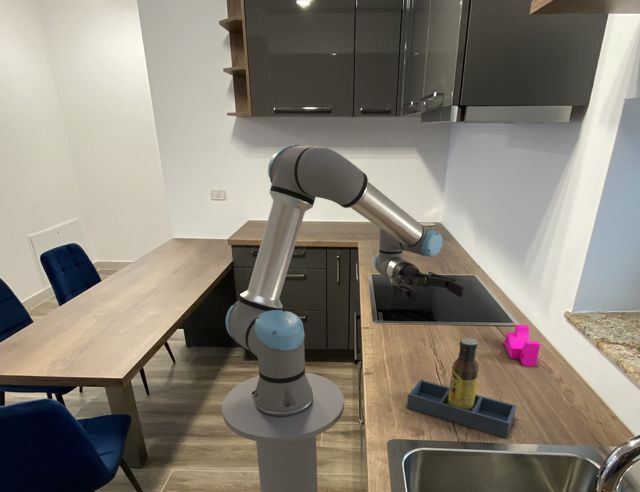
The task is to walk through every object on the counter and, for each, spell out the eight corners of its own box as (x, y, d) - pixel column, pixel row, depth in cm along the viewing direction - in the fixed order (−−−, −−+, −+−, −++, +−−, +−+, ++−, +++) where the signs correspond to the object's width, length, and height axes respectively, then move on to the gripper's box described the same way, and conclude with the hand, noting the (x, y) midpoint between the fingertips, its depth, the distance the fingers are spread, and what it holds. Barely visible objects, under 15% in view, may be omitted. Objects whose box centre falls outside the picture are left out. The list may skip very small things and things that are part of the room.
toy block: (504, 344, 151) (507, 324, 148) (523, 345, 150) (527, 325, 147) (514, 365, 137) (518, 343, 134) (535, 366, 136) (540, 344, 133)
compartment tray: (407, 407, 116) (408, 394, 114) (419, 392, 123) (420, 379, 121) (506, 438, 104) (509, 423, 102) (513, 419, 111) (516, 405, 109)
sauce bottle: (447, 402, 117) (455, 333, 108) (472, 405, 115) (482, 335, 107) (446, 415, 111) (455, 344, 103) (472, 419, 109) (483, 347, 101)
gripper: (437, 281, 141) (477, 303, 123) (365, 289, 133) (396, 313, 115) (440, 258, 138) (481, 276, 120) (366, 264, 130) (398, 285, 112)
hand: (439, 294), depth 117 cm, fingers open, 13 cm apart
